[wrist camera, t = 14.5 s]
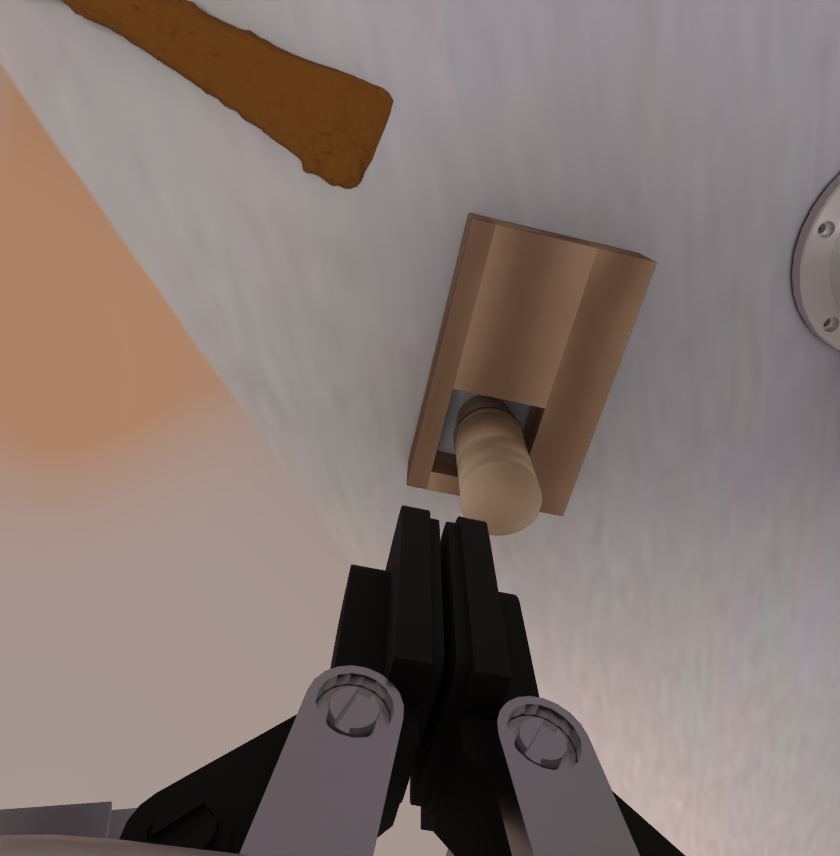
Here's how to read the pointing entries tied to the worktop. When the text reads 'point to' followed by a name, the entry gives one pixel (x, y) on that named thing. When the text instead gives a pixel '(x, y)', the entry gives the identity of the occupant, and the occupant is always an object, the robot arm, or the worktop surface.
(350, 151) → the primitive tool
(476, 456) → the peg
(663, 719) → the worktop surface
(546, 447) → the board
